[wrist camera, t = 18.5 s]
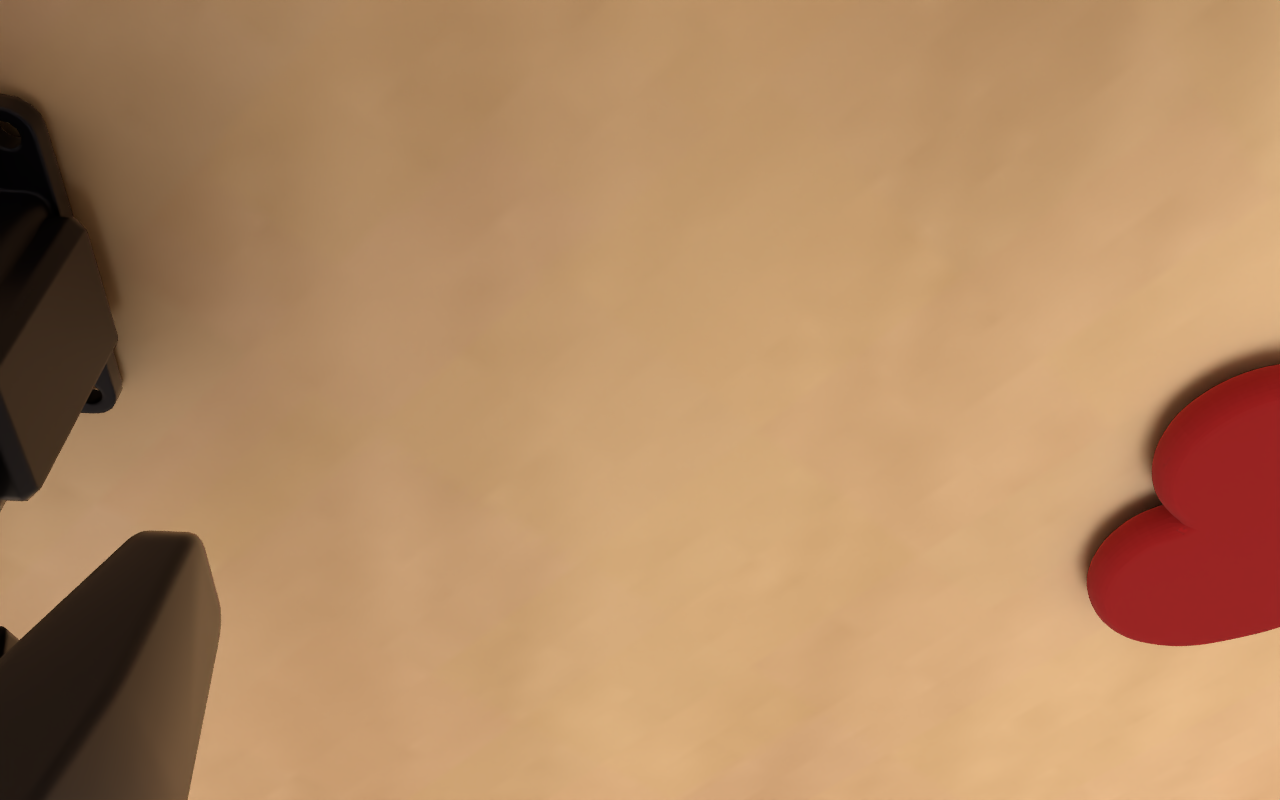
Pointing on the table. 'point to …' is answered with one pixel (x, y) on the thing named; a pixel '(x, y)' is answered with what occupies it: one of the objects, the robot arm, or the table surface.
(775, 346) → the table surface
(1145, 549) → the lollipop
